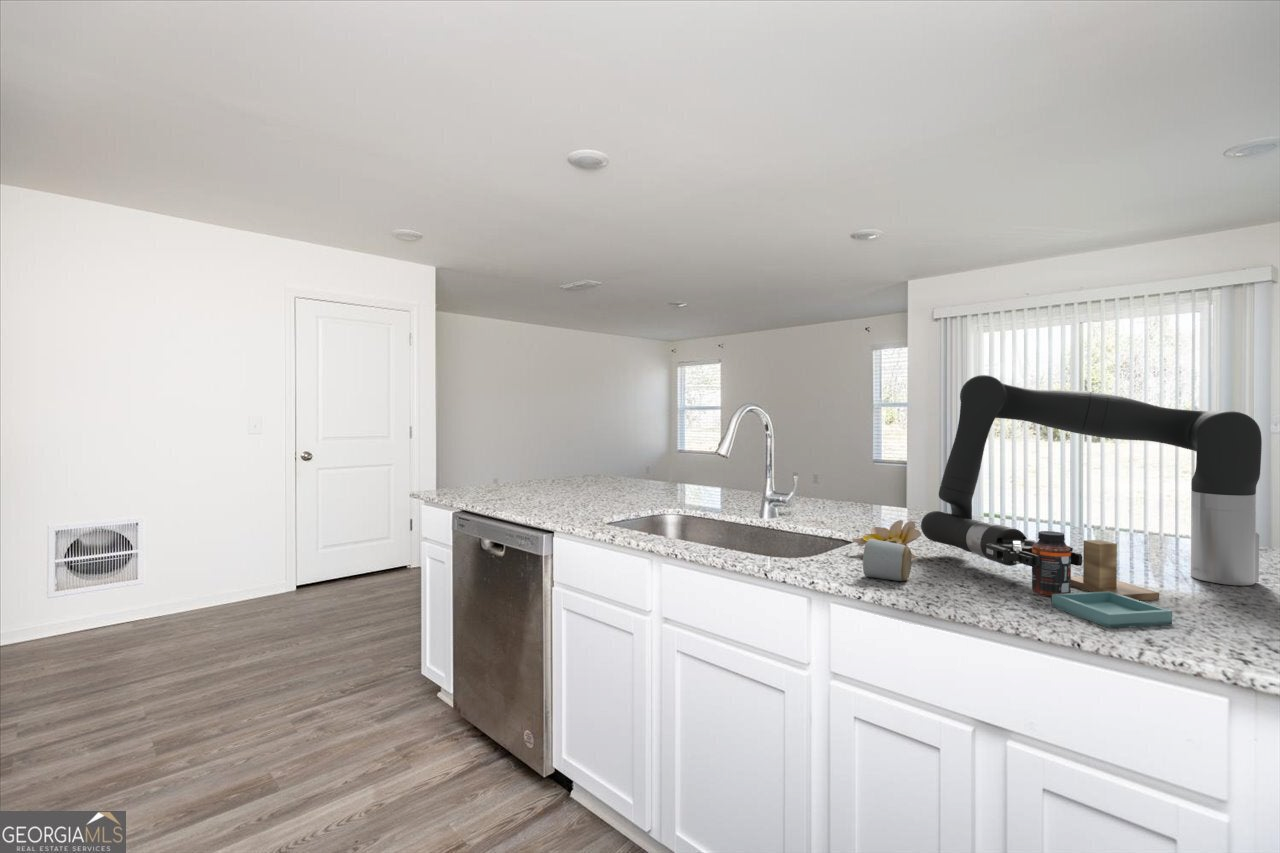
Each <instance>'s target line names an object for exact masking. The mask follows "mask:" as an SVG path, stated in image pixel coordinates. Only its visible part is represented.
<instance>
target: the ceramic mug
mask: <svg viewBox="0 0 1280 853" xmlns="http://www.w3.org/2000/svg"><path fill="white" fill-rule="evenodd" d="M911 553H912V550H911V549H910V547H909V546H908V545H907V546H905V545H902V544H897V543H891V542H886V541H880V540H875V539H868V541H867V542H866V544H865V547H864V549H863V556H862V571H863V574H864V576H865V577H867V578H874V579H882V580H889V581H896V582H898V581H899V582H904V581H907V580H908V579H909V577H910V576H911V575H910V574H911V570H912V556H911Z"/></svg>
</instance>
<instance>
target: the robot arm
mask: <svg viewBox="0 0 1280 853" xmlns="http://www.w3.org/2000/svg"><path fill="white" fill-rule="evenodd" d="M959 400H960V407H959V409H960V410H959V420H958V425H957V428H956V433H955V438H954V441H953V444H952V447H951V451H950V453H949V455H948V459H947V463H946V466H945V468H944V471H943V475H942V478H941V483H940V486H939V488H938V489H939V490H938V498H939V499H940V500H941V501H942V502H945V503H948V504H949V505H950V507H951V510H950V511H951V513H948V512H943V511H939V510H938V511H937V510H933V511H929V512H928V513H927V514H925V515H924V516H923V518H922V519H921V522H920V529H921V533H922V534H923V535H924V536H925V538H926V539H928V540H929V541H931V542H935V543H939V544H944V545H947V546H952V547H956V548H959V549H962V550H963V551H966V552H969V553H972V554H974V555H977V556H978V557H981V558H983V559H986V560H990V561H992V562H995V563H998V564H1001V565H1004V566H1008V567H1010V566H1012V567H1013V566H1016V565H1021V564H1022V565H1025V566H1029V567H1031V568H1032V567H1034V568H1038V567H1040V557H1039V555H1035V554H1032V546H1033V544H1034V543H1037V542H1038V541H1036V540H1033V539H1028V538H1027V537H1026V535H1025V534H1024V533H1023V532H1022V531H1021V530H1019V529H1017V528H1013V527H1010V526H1005V525H1001V524H998V523H993V522H985V521H981V520H976V519H973V497H974V494H975V490H976V487H977V484H978V481H979V480H978V479H979V476H980V472H981V468H982V467H981V466H982V460H983V456H984V451H985V447H986V443H987V440H988V436H989V433H990V430H991V428H992V426H993V424H994V421H995V419H1003V420H1004V419H1005V420H1006V419H1007V420H1017V421H1024V422H1028V423H1033V424H1037V425H1040V426H1044V427H1048V428H1051V429H1056V430H1060V431H1065V432H1070V433H1072V434H1073V433H1074V434H1078V435H1083V436H1084V435H1085V436H1091V437H1097V438H1103V439H1112V440H1113V439H1114V440H1124V441H1146V442H1155V443H1161V444H1166V445H1169V446H1174V447H1179V448H1182V449H1185V450H1190V451H1194V452H1196V456H1195V457H1196V458H1195V459H1196V460H1195V461H1196V463H1195V471H1194V474H1193V476H1192V478H1191V491H1190V492H1191V493H1190V494H1191V502H1190V503H1191V508H1190V509H1191V510H1190V512H1191V514H1190V515H1191V516H1190V519H1191V520H1190V524H1191V525H1190V576H1191V578H1193V579H1197V580H1200V581H1205V582H1209V583H1213V584H1214V583H1215V584H1221V585H1230V586H1253V585H1255V583H1259V582H1260V580H1259V579H1260V534H1259V533H1258V532H1256V530H1257V529H1256V528H1257V526H1256V521H1257V520H1256V519H1257V516H1256V515H1257V512H1256V511H1257V507H1256V506H1257V505H1256V504H1257V485H1258V483H1259V480H1260V476H1261V469H1262V468H1261V465H1262V463H1261V462H1262V449H1263V448H1262V444H1263V443H1262V442H1263V440H1262V431H1261V428H1260V426H1259V424H1258V423H1257V421H1256V420H1255V419H1254V418H1252V417H1251V416H1250V415H1248V414H1245V413H1243V412H1240V411H1235V410H1233V411H1232V410H1193V409H1181V408H1171V407H1170V408H1169V407H1163V406H1158V405H1154V404H1150V403H1147V402H1144V401H1140V400H1136V399H1132V398H1130V397H1123V396H1121V395H1115V394H1114V395H1113V394H1108V393H1102V392H1095V391H1088V390H1087V391H1086V390H1077V389H1073V390H1072V389H1034V388H1025V387H1021V386H1020V387H1019V386H1015V385H1011V384H1007V383H1002V382H1001V381H1000V380H999V379H998V378H997V377H995V376H992V375H989V374H981V375H980V374H979V375H976V376H973V377H971V378H969V379H968V380H967V381H966V382H965V383H964V384H963V385H962V387H961V389H960V393H959ZM1067 546H1068V547H1069V548H1070V549H1071V566H1076V567H1079V566H1083V555H1082V553H1080V552H1075V551H1073V550H1074V548H1073V547H1072V546H1070V545H1067Z"/></svg>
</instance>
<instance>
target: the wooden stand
mask: <svg viewBox="0 0 1280 853" xmlns="http://www.w3.org/2000/svg"><path fill="white" fill-rule="evenodd" d="M1117 550H1118V544H1117V543H1116V542H1111V541H1109V540H1108V541H1106V540H1104V539H1103V540H1102V539H1091V540H1090V539H1088V540H1086V539H1083V550H1082V551H1083V555H1082V566H1083V569H1082V571H1083V572H1082V575H1083V576H1081V575H1080V576H1079V575H1078V576H1071V587H1073V586H1074V587H1073V588H1076V587H1077V589H1079V588H1080V590H1082V589H1084V590H1083V591H1085V590H1087V591H1086V592H1088V591H1090V592H1102V591H1111V592H1114V593H1117V594H1120V595H1123V596H1126V597H1129V598H1133V599H1136V600H1140V601H1155V600H1154V599H1159V600H1160V592H1158V591H1154V590H1151V589H1148V588H1145V587H1142V586H1141V587H1140V586H1138V585H1134V584H1131V583H1127V582H1124V581H1120V580H1117V577H1118V575H1117V574H1118V572H1117V571H1118V569H1117V567H1118V565H1117V564H1118V558H1117V557H1118V556H1117V555H1118V551H1117Z"/></svg>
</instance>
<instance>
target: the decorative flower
mask: <svg viewBox="0 0 1280 853" xmlns="http://www.w3.org/2000/svg"><path fill="white" fill-rule="evenodd" d="M903 524H904V525H903ZM922 534H923V533H922V531H920V530H919V529H917V528H916V523H915V522H914V521H912V520H909V521H907V522H905V523H904V520H902V519H899V520H897V521H895V522H894V523H893V524H891V525H890V526H889V529H888V528H886V527H880V526H879V527H878V526H874V527H872V528H871V529H870V532H869V533H865V534H864V535H862V536H861V537H859V538H852V539H850V541H852V542H854V543H856V544H857V545H860V546H863V547H864V548H865V544H866V542H867V541H868V539H875V540H880V541H886V542H891V543H897V544H902V545H905V546H907V547H908V544H911V543H913V541H916V540H917V539H918V538H920V537H921V536H922ZM911 556H912V559H917V556H916V555H915V554H914V553H912V552H911Z"/></svg>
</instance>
